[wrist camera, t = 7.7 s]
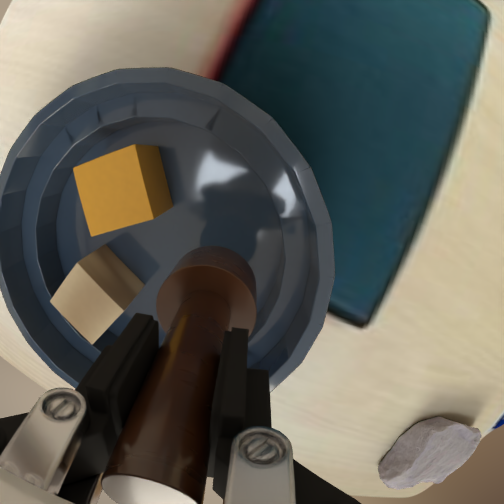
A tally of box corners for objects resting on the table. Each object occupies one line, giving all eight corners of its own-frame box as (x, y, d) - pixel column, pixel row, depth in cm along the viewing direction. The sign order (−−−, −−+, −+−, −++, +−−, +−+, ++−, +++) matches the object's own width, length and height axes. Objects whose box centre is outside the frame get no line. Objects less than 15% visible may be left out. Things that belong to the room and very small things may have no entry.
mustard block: (103, 164, 19) (72, 168, 15) (158, 145, 18) (134, 143, 14) (119, 222, 20) (90, 237, 16) (173, 206, 19) (154, 219, 16)
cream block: (77, 279, 21) (49, 301, 17) (105, 243, 20) (76, 262, 16) (114, 316, 22) (92, 345, 18) (145, 284, 21) (124, 311, 17)
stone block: (410, 405, 27) (368, 472, 28) (432, 428, 22) (383, 498, 23) (473, 407, 29) (435, 466, 29) (494, 424, 24) (452, 486, 25)
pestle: (174, 240, 16) (27, 407, 4) (262, 251, 16) (274, 464, 4) (171, 318, 17) (82, 510, 5) (250, 328, 17) (244, 544, 5)
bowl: (48, 97, 18) (-4, 87, 12) (334, 109, 18) (365, 91, 12) (55, 340, 24) (20, 377, 18) (285, 382, 24) (290, 436, 18)
